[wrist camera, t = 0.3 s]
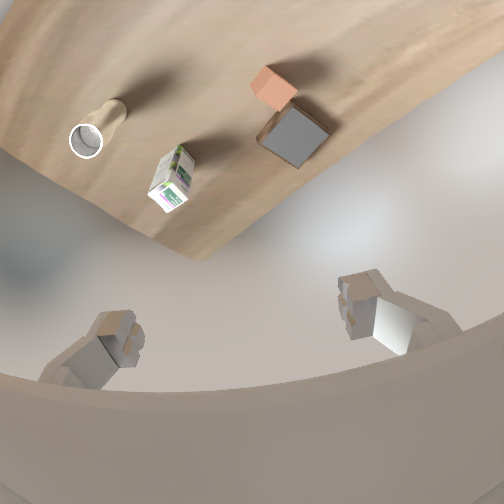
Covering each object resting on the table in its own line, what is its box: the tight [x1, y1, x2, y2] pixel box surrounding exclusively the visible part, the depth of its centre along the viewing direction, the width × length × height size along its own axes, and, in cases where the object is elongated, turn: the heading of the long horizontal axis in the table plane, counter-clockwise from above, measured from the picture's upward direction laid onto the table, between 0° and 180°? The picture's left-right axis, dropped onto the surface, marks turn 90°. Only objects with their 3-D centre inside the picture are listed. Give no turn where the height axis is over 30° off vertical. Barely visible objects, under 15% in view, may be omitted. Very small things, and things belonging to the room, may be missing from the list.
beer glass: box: [70, 99, 127, 158], centre depth 41 cm, size 7×7×15 cm
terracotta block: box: [250, 66, 298, 112], centre depth 43 cm, size 5×5×10 cm
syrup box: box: [148, 145, 195, 213], centre depth 52 cm, size 6×6×14 cm
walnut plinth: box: [256, 100, 331, 169], centre depth 54 cm, size 11×11×4 cm
